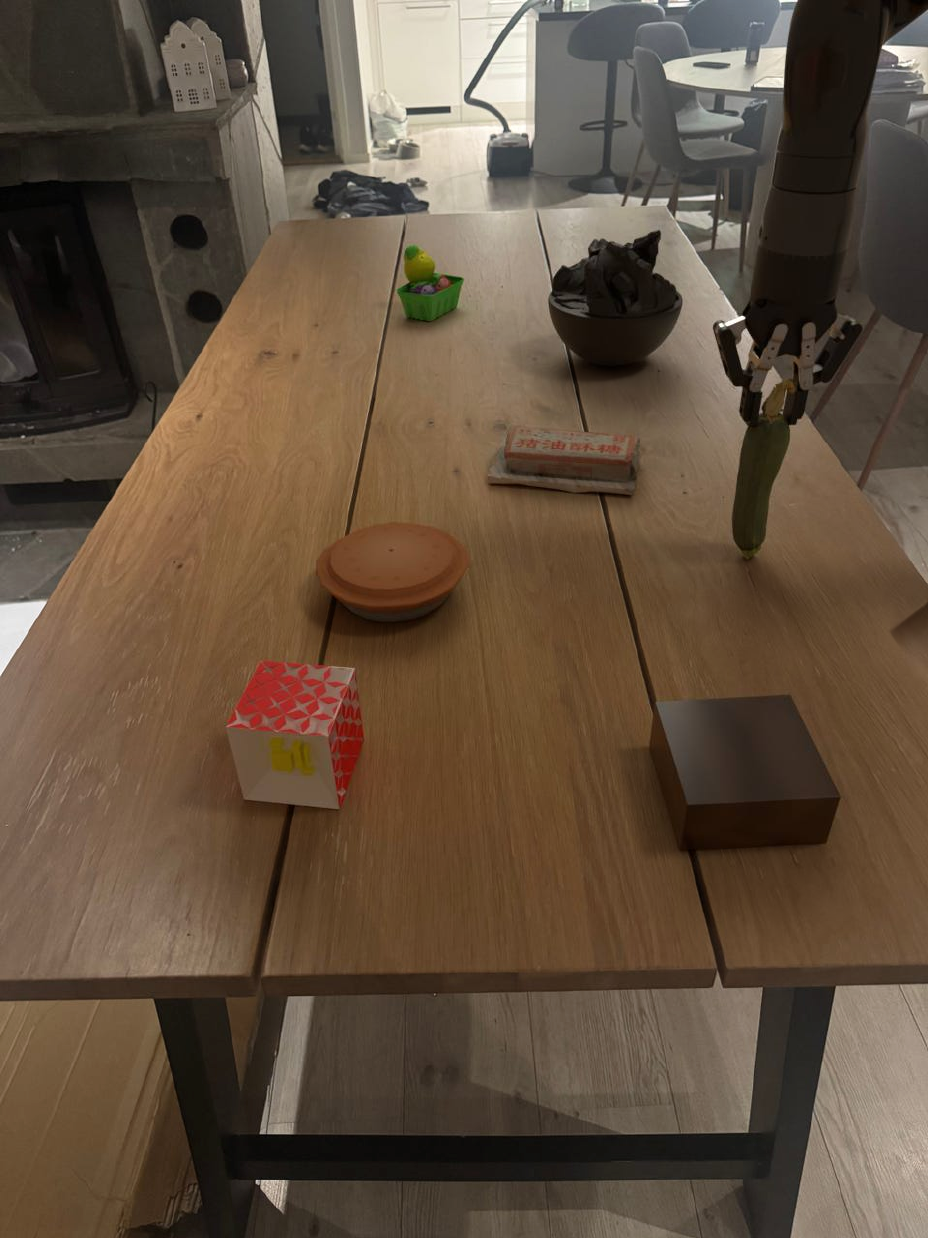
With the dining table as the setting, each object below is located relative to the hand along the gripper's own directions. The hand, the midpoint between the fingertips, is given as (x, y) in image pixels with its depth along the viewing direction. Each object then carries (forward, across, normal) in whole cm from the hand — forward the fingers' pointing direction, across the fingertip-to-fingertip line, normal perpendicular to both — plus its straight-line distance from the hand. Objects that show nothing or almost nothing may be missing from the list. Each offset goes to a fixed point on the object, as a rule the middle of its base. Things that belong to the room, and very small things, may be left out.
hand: (769, 421), depth 91 cm
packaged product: (+15, -17, +20) cm, 30 cm away
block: (+15, -11, -34) cm, 39 cm away
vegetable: (+15, 0, 0) cm, 15 cm away
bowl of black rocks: (+15, -5, +56) cm, 58 cm away
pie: (+15, -38, -4) cm, 41 cm away
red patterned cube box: (+15, -45, -29) cm, 56 cm away
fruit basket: (+15, -33, +83) cm, 91 cm away
